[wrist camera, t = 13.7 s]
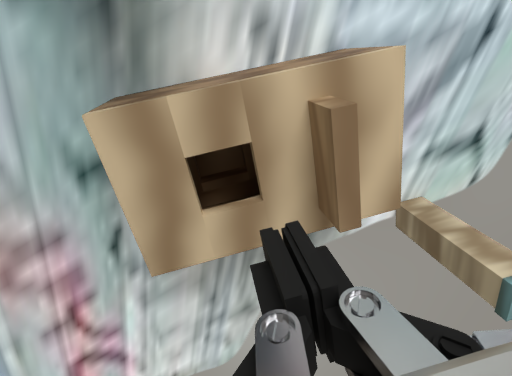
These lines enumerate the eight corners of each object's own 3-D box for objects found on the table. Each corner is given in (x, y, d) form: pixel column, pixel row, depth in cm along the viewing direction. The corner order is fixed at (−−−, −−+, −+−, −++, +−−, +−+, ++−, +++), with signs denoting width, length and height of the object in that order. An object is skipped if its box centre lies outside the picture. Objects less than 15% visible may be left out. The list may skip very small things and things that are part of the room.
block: (394, 227, 36) (506, 321, 23) (395, 202, 34) (515, 287, 21) (420, 220, 36) (545, 308, 23) (423, 195, 35) (557, 274, 22)
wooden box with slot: (161, 221, 29) (154, 265, 23) (115, 97, 24) (88, 111, 18) (350, 172, 31) (390, 201, 25) (344, 48, 26) (393, 46, 20)
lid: (153, 268, 23) (145, 313, 19) (87, 112, 18) (56, 129, 14) (392, 202, 25) (432, 231, 21) (395, 46, 20) (448, 43, 16)
